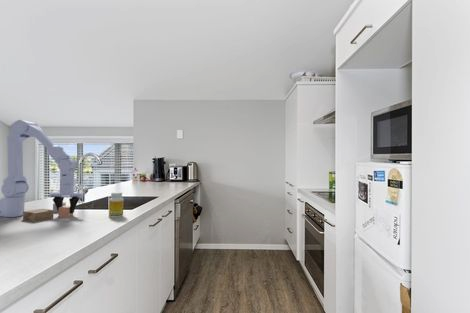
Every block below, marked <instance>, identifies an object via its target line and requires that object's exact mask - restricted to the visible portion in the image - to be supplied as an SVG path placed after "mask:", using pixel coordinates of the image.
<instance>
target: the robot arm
mask: <svg viewBox="0 0 470 313" xmlns="http://www.w3.org/2000/svg"><path fill="white" fill-rule="evenodd" d="M31 137H33V138H35V139H36V140H37V141H38V142H39V143H40V144H41V145H42V146H43V147H44V148H46V149H47V150H48V151H47V154H48V155H49V156H50V157H51V159H53V160H54V161H55V163H56V164H57V168H58V169H59V192H49V194H48V195H49V196H48V197H49V198H52V201H53V204H54V203H55V205H56V207H57V211H59V207H62V204H63V202H64V198H69V206H70V213H73V214H74V213H75V209H76V206H77V205H78V203H79V201H80V199H82V198H84V195H85V194H84V192H82V193H80V192H74V191H75V169H76V168H77V165H78V164H77V161H76V159H74V158H73V157H71V156H70V155H69V154H68V153H67V152H66V151H64V147H62V146H60V145H55V143H53V141H52V140H51V138H49V136H48V135H47V134H46V133H45V132H44V131H43V128H42V127H40V126H39V125H38V123H36V122H33V121H27V120H23V119H17V120H16V121H14V122H13V123H11V124H10V130H9V132H8V134H7V137H6V138H7V176H6V177H5V178H4V179H3V184H2V186H1V189H0V190H1V193H2V195H4V196H2V197H0V217H6V218H18V217H21V216H22V217H23V211H25V199H26V193H28V191H29V189H30V188H29V184H28V182H27V178H26V176H25V175H24V161H23V154H24V152H23V142H24V141H26V140H27V139H28V138H31Z"/></svg>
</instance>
